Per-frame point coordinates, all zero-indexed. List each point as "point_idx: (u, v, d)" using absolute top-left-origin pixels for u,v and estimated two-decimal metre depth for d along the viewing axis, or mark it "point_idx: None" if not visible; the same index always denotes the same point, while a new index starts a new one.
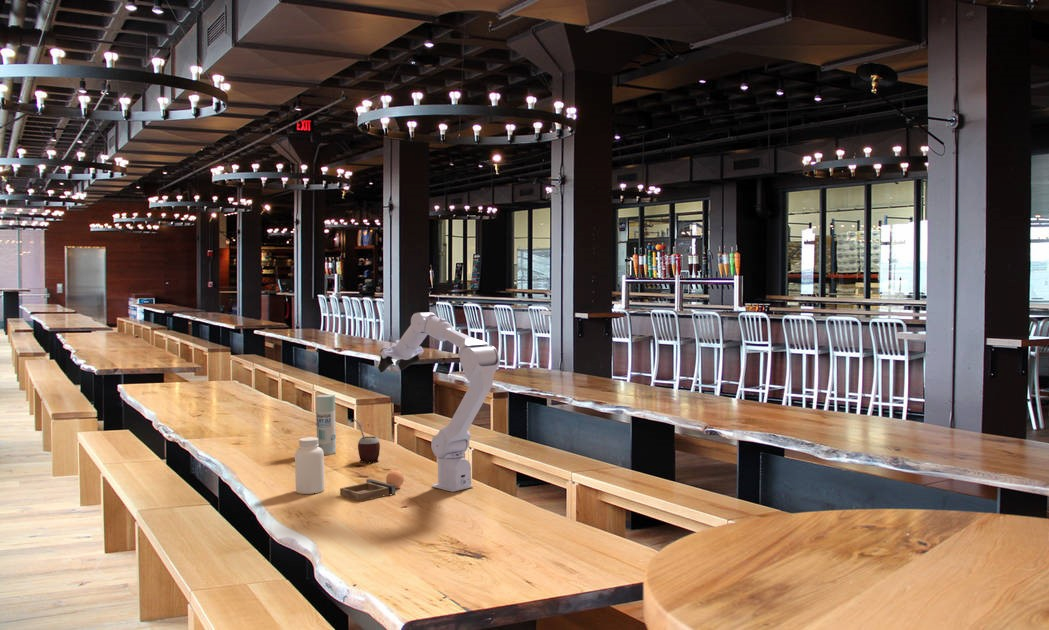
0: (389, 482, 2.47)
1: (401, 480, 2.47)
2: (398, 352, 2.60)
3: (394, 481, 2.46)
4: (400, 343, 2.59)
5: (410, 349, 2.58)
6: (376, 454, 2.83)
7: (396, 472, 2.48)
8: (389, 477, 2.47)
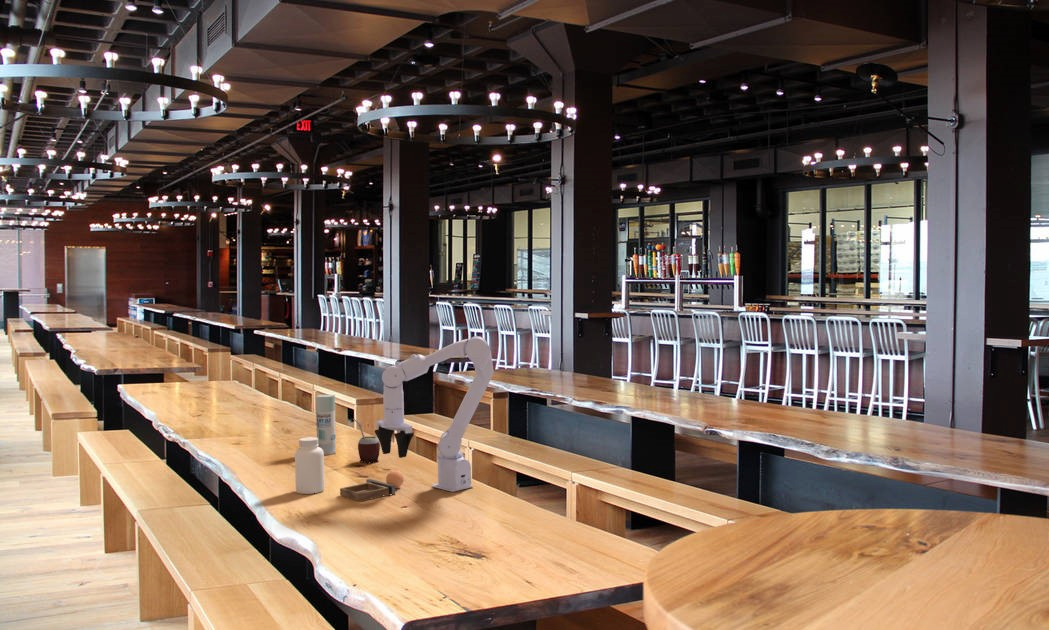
0: (389, 482, 2.47)
1: (401, 480, 2.47)
2: (402, 422, 2.47)
3: (394, 481, 2.46)
4: (398, 413, 2.45)
5: None
6: (376, 454, 2.83)
7: (396, 472, 2.48)
8: (389, 477, 2.47)
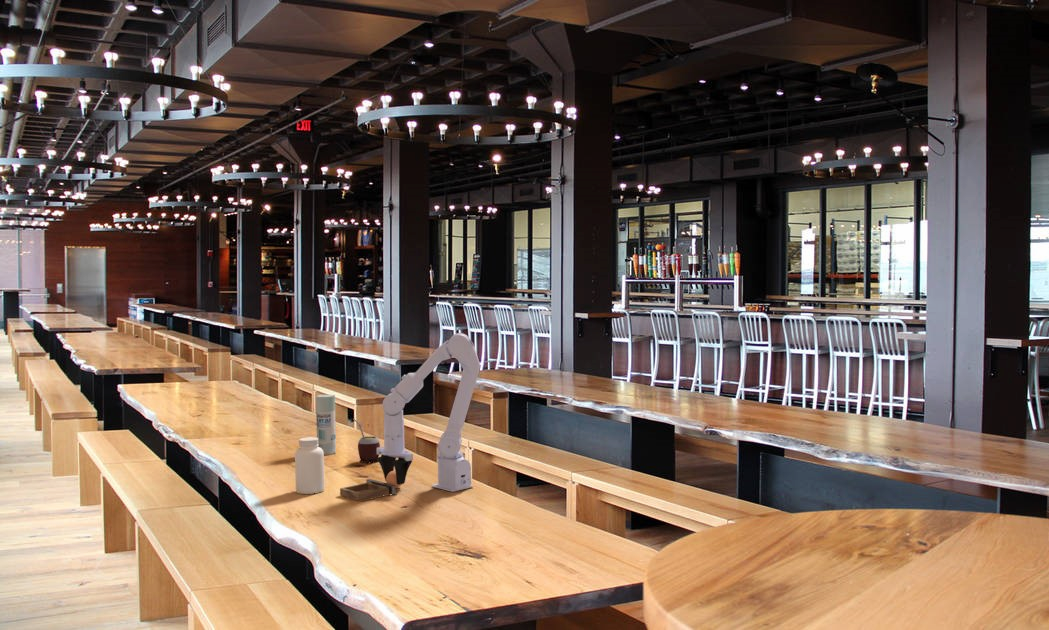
0: (389, 482, 2.47)
1: None
2: (402, 450, 2.47)
3: (394, 481, 2.46)
4: (398, 441, 2.46)
5: None
6: (376, 454, 2.83)
7: None
8: (389, 477, 2.47)
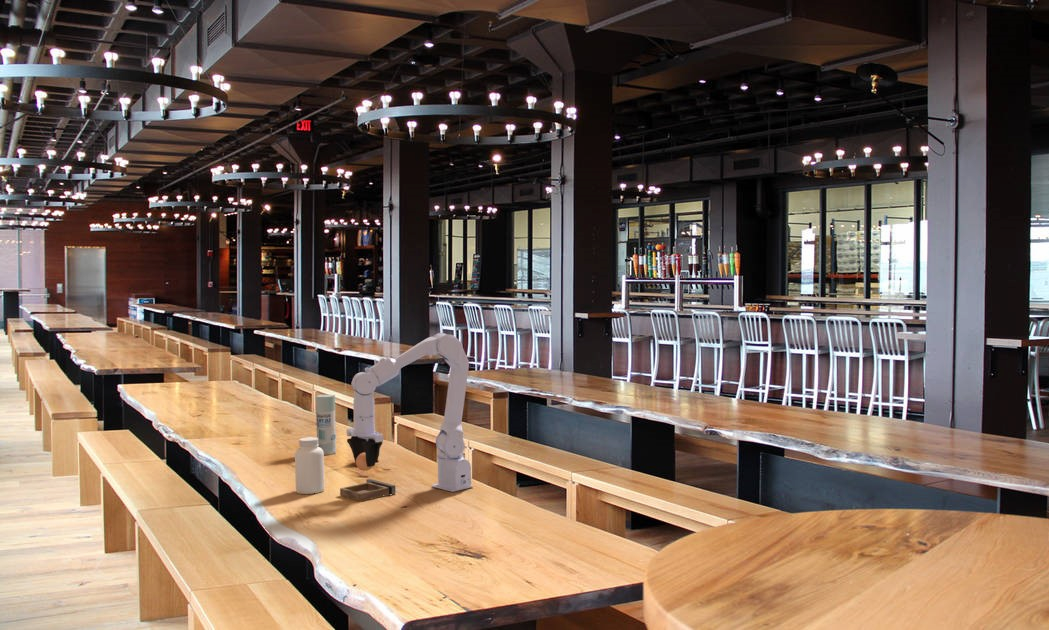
0: (359, 464, 2.38)
1: None
2: (372, 431, 2.39)
3: (364, 464, 2.38)
4: (368, 422, 2.38)
5: None
6: None
7: None
8: (358, 459, 2.39)
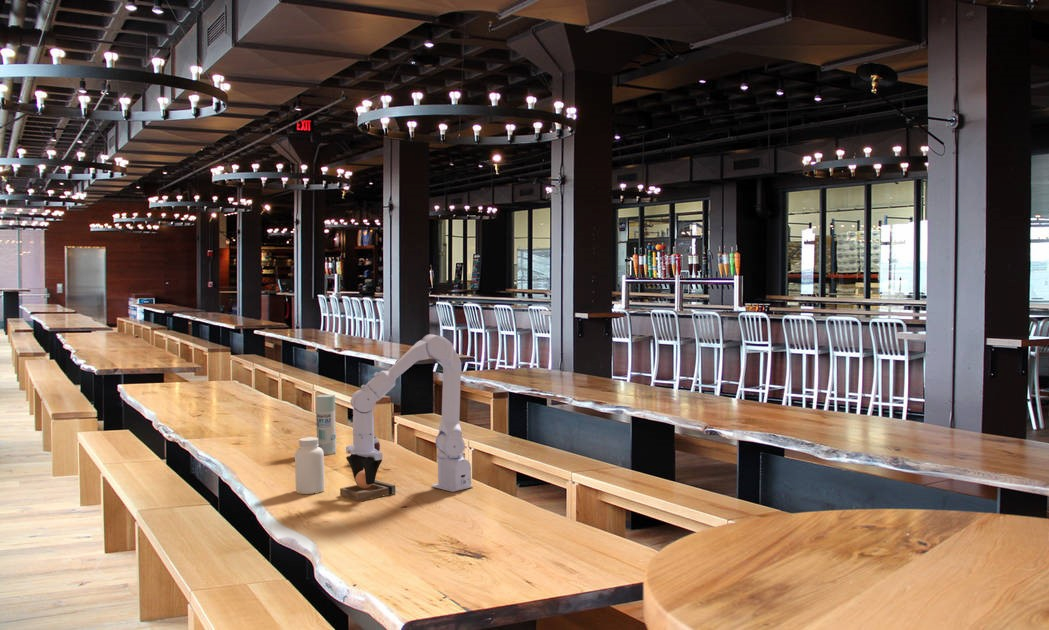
0: (358, 482, 2.38)
1: None
2: (372, 448, 2.39)
3: (363, 481, 2.38)
4: (368, 439, 2.38)
5: None
6: None
7: None
8: (358, 477, 2.39)
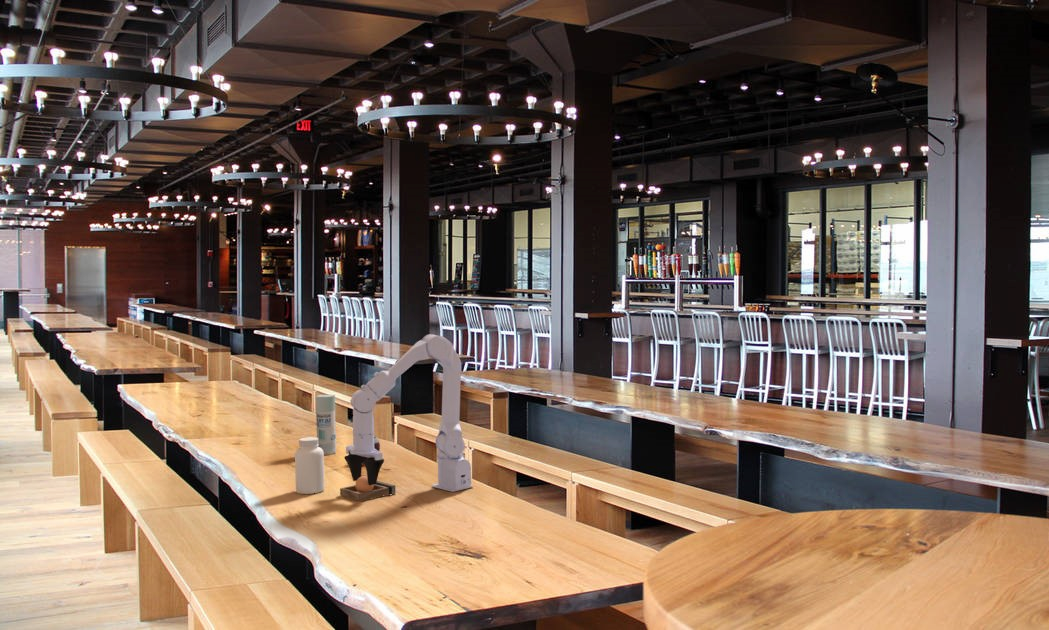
0: (358, 488, 2.38)
1: (371, 486, 2.39)
2: (372, 448, 2.39)
3: (363, 487, 2.38)
4: (368, 439, 2.38)
5: None
6: None
7: (366, 477, 2.39)
8: (358, 483, 2.39)
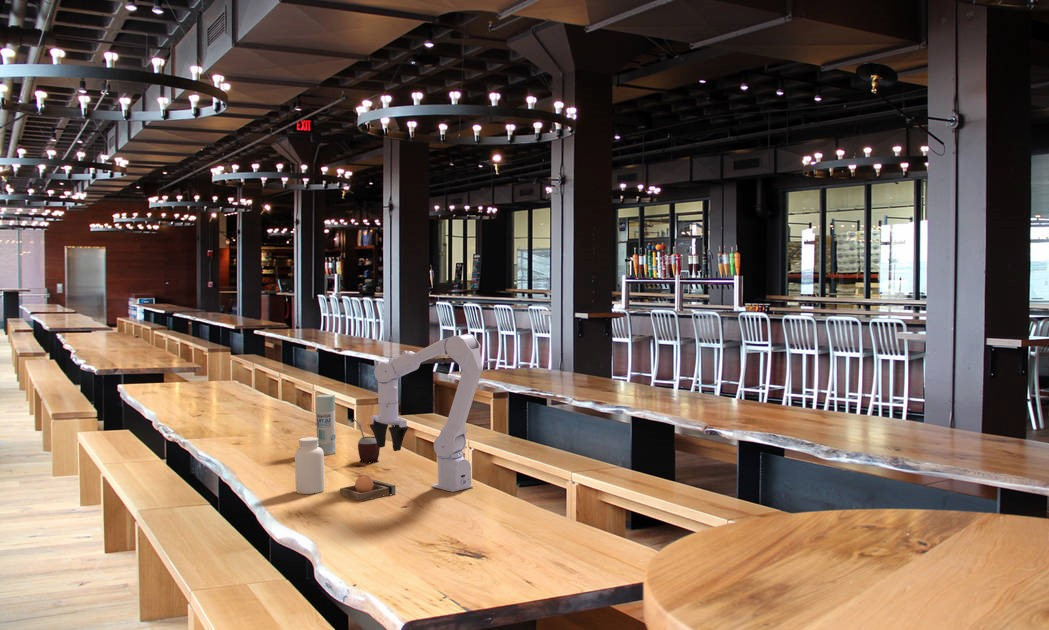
0: (358, 488, 2.38)
1: (370, 485, 2.39)
2: (396, 417, 2.54)
3: (363, 487, 2.38)
4: (392, 408, 2.53)
5: None
6: (376, 454, 2.83)
7: (365, 477, 2.40)
8: (357, 483, 2.39)
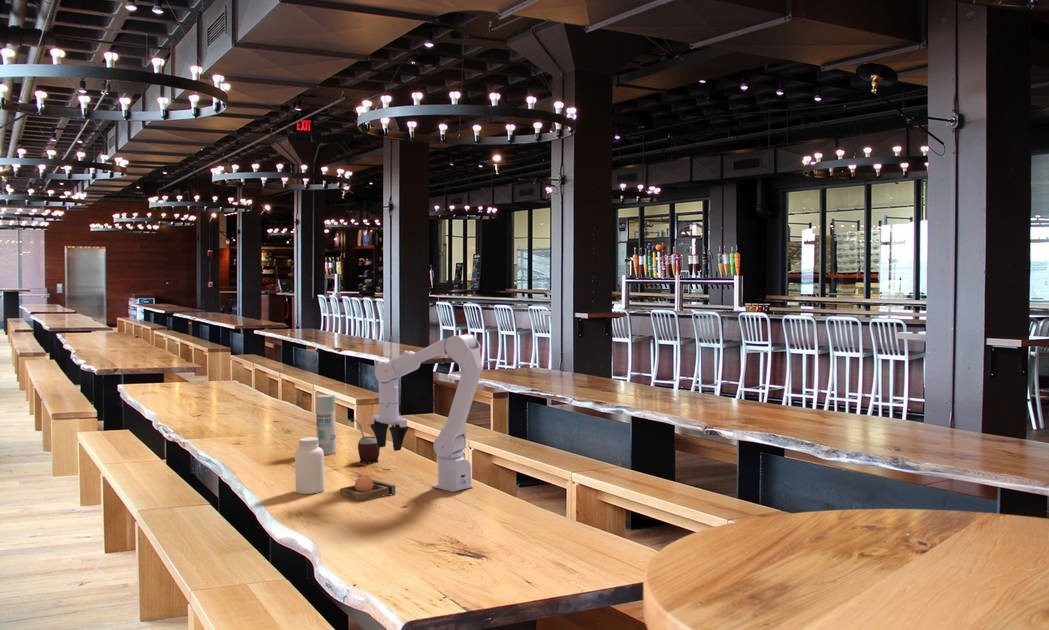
0: (358, 488, 2.39)
1: (370, 485, 2.39)
2: (397, 417, 2.54)
3: (363, 487, 2.38)
4: (393, 408, 2.53)
5: None
6: (376, 454, 2.83)
7: (365, 477, 2.40)
8: (357, 483, 2.39)
